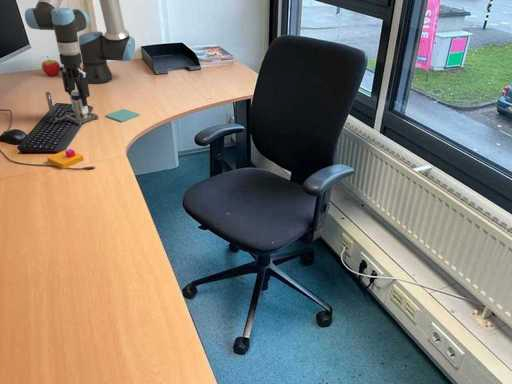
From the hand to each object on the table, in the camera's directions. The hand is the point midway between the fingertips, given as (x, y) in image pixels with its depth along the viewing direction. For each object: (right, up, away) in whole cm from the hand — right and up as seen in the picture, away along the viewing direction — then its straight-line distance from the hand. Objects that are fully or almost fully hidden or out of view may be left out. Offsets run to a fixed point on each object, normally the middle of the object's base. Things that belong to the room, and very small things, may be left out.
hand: (80, 111), depth 170 cm
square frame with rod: (-4, -3, +1) cm, 5 cm away
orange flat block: (+7, -23, -29) cm, 37 cm away
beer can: (0, -3, +2) cm, 4 cm away
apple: (-36, +29, +51) cm, 69 cm away
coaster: (+15, -1, +7) cm, 16 cm away
